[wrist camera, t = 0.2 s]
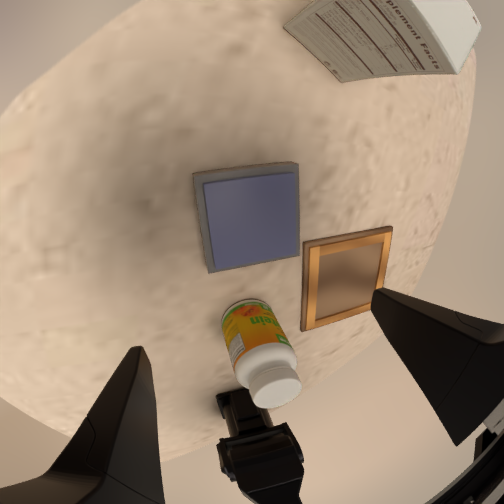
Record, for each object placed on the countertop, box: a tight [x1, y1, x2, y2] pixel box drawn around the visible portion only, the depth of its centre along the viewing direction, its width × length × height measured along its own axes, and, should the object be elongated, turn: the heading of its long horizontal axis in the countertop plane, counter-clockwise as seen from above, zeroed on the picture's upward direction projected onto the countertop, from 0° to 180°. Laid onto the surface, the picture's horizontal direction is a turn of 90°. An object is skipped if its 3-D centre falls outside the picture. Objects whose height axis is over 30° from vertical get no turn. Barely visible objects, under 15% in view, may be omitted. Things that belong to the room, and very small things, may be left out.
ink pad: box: [193, 162, 300, 273], centre depth 21 cm, size 8×8×2 cm
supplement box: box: [284, 0, 482, 82], centre depth 12 cm, size 7×7×13 cm
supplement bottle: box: [222, 300, 302, 408], centre depth 23 cm, size 5×5×10 cm
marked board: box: [300, 226, 393, 332], centre depth 28 cm, size 11×11×1 cm
